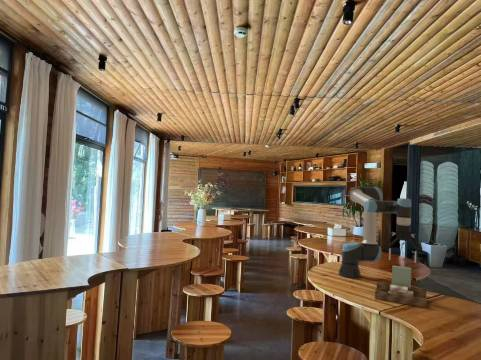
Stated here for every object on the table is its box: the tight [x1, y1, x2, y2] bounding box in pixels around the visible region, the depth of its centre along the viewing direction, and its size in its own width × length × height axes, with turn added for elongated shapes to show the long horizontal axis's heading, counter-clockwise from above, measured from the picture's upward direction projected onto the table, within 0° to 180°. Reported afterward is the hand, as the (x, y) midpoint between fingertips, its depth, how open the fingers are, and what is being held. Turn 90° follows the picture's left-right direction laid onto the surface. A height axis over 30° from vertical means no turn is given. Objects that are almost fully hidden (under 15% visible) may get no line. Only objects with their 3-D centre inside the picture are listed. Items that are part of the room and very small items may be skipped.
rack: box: [374, 280, 428, 309], centre depth 196 cm, size 26×15×6 cm, turn 64°
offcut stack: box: [388, 284, 413, 297], centre depth 194 cm, size 13×6×6 cm, turn 64°
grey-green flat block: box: [391, 265, 412, 288], centre depth 200 cm, size 10×2×16 cm, turn 64°
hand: (402, 261), depth 200 cm, fingers open, 13 cm apart
